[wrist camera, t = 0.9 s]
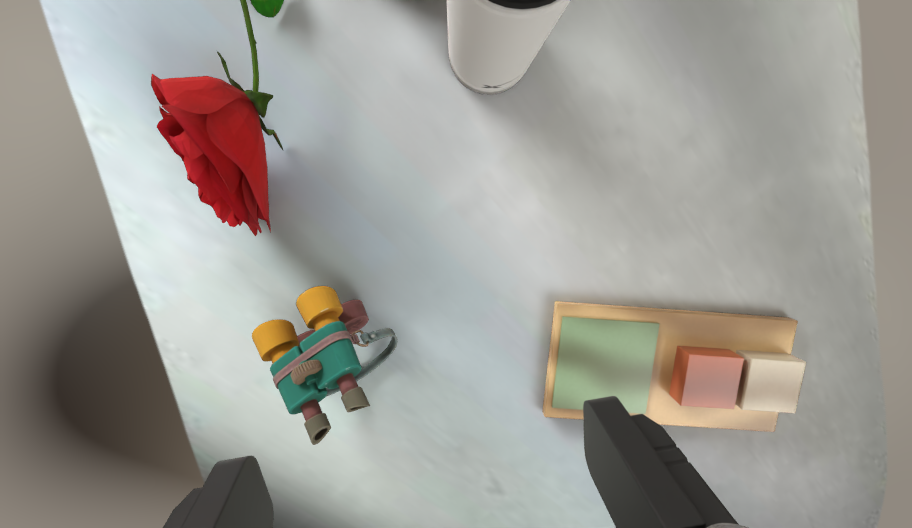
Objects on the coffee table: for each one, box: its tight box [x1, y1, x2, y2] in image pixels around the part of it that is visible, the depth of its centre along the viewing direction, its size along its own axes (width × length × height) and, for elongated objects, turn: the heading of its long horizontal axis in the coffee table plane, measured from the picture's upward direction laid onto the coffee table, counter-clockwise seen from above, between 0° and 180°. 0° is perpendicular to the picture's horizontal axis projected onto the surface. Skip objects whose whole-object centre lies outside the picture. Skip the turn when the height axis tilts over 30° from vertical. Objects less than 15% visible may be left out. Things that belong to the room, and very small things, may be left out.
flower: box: [151, 0, 284, 236], centre depth 30 cm, size 9×9×30 cm
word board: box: [543, 301, 806, 432], centre depth 37 cm, size 10×20×3 cm, turn 86°
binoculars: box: [252, 286, 398, 445], centre depth 33 cm, size 9×9×10 cm
